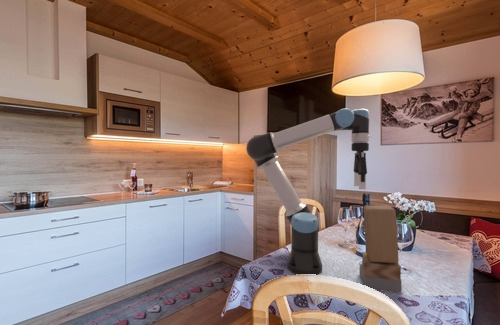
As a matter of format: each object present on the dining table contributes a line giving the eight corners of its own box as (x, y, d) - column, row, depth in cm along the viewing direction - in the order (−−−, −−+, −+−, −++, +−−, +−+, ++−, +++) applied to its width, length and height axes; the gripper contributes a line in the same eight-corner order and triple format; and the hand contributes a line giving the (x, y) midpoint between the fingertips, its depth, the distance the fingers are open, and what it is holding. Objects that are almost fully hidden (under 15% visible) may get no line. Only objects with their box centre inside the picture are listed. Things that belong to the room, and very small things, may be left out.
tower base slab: (365, 290, 98) (366, 277, 98) (359, 276, 110) (359, 264, 110) (401, 293, 96) (401, 280, 95) (390, 278, 107) (391, 266, 107)
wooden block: (392, 254, 105) (389, 204, 105) (399, 264, 96) (396, 209, 96) (365, 253, 108) (362, 205, 108) (369, 262, 98) (366, 209, 99)
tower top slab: (364, 276, 99) (364, 262, 99) (362, 263, 110) (362, 251, 110) (400, 281, 95) (400, 267, 95) (394, 267, 106) (394, 255, 106)
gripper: (374, 141, 111) (374, 191, 112) (363, 143, 136) (363, 184, 136) (356, 141, 113) (355, 190, 113) (348, 143, 137) (347, 184, 138)
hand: (359, 187), depth 125 cm, fingers open, 13 cm apart
